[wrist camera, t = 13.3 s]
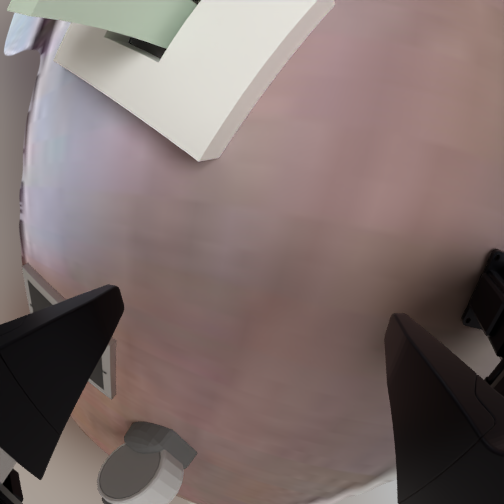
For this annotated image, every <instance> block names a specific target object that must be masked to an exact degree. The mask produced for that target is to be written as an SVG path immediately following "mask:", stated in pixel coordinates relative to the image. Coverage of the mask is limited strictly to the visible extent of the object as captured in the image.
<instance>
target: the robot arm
mask: <svg viewBox="0 0 504 504" xmlns="http://www.w3.org/2000/svg"><path fill="white" fill-rule="evenodd" d="M497 254H498V257H497V258H496V259H495V257H496V255H497ZM123 312H124V303H123V300H122V296H121V292H120V289H119V287H117V286H115V285H105V286H102V287H100V288H97V289H94V290H92V291H89V292H86V293H83V294H81V295H78V296H75V297H73V298H70V299H67V300H65V301H62V302H59V303H57V304H54V305H51V306H49V307H46V308H44V309H41V310H38V311H36V312H33V313H31V314H28V315H25V316H23V317H20V318H17V319H15V320H12V321H9V322H7V323H4V324H1V325H0V504H23V503H22V501H23V495H22V490H21V485H20V480H19V474H18V472H17V471H15V470H14V469H13V467H14V465H15V464H16V462H18V463H19V464H20V465H21V466H22V467H24V468H25V469H26V470H27V471H29V472H30V473H31V474H33V475H34V476H35V477H37V478H38V479H39V480H41V479H42V477H43V475H44V473H45V470H46V468H47V465H48V463H49V461H50V458H51V456H52V454H53V451H54V449H55V447H56V445H57V442H58V440H59V438H60V435H61V434H62V431H63V429H64V427H65V425H66V423H67V421H68V419H69V417H70V415H71V413H72V411H73V409H74V407H75V405H76V403H77V401H78V399H79V397H80V395H81V393H82V391H83V389H84V388H85V386H86V384H87V382H88V380H89V378H90V376H91V375H92V373H93V371H94V369H95V367H96V365H97V364H98V362H99V360H100V358H101V357H102V355H103V353H104V351H105V350H106V348H107V346H108V344H109V342H110V340H111V338H112V335H113V333H114V331H115V329H116V327H117V325H118V322H119V320H120V318H121V316H122V314H123ZM467 318H469V319H468V320H466V319H467ZM462 322H463V324H464V325H465V326H470V327H474V328H478V329H482V330H483V331H484V333H485V335H486V336H487V337H488V339H489V341H490V343H491V345H492V347H493V349H494V351H495V353H496V355H497V356H499V357H500V359H501V361H500V363H499V364H498V365H497V367H496V368H495V369H494V370H493V372H492V373H491V374H490V375H489V376H488V377H486V378H485V379H484V380H483V379H482V378H481V377H480V376H479V375H476V373H475V372H474V371H473V370H472V369H471V368H470V367H468V366H467V365H466V364H465V363H464V362H463V361H462V360H460V359H459V358H458V357H457V356H456V355H455V354H453V353H452V352H451V351H450V350H449V349H448V348H446V347H445V346H444V345H443V344H442V343H440V342H439V341H438V340H437V339H436V338H434V337H433V336H432V335H431V334H430V333H428V332H427V331H426V330H425V329H424V328H422V327H421V326H420V325H419V324H417V323H416V322H415V321H414V320H412V319H411V318H410V317H409V316H408V315H406V314H404V313H394V314H392V316H391V318H390V321H389V324H388V327H387V330H386V333H385V339H384V342H385V356H386V373H387V386H388V393H389V400H390V407H391V414H392V422H393V431H394V441H395V453H396V467H397V491H398V504H504V252H503V251H501V250H498V249H495V250H493V251H492V253H491V255H490V258H489V260H488V263H487V265H486V268H485V270H484V272H483V275H482V276H481V278H480V280H479V283H478V285H477V287H476V289H475V291H474V293H473V296H472V298H471V300H470V302H469V305H468V306H467V308H466V310H465V312H464V314H463V316H462Z"/></svg>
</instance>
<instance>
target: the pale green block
mask: <svg viewBox="0 0 504 504" xmlns="http://www.w3.org/2000/svg"><path fill="white" fill-rule="evenodd" d="M196 6H197V4H196V3H194V2H193V1H191V0H11V2H10V4H9V6H8V9H7V11H11V12H15V13H19V14H23V15H27V16H32V17H41V18H49V19H56V20H62V21H68V22H73V23H78V24H83V25H88V26H92V27H96V28H101V29H105V30H109V31H112V32H116V33H120V34H123V35H126V36H130V37H133V38H136V39H139V40H143V41H146V42H149V43H152V44H154V45H157V46H160V47H163V48H166V49H167V48H168V46H169V45H170V43H171V42H172V40H173V39H174V37H175V36H176V34H177V33H178V31H179V30H180V28H181V27H182V25H183V24H184V23H185V21H186V20H187V18H188V17H189V16H190V14H191V13H192V12H193V10H194V9H195V8H196Z"/></svg>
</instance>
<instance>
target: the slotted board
mask: <svg viewBox="0 0 504 504" xmlns="http://www.w3.org/2000/svg"><path fill="white" fill-rule="evenodd" d="M334 6H335V2H334V0H201V1H200V2H199V4H198V5H197V6H196V8H195V9H194V10H193V12H192V13H191V14H190V16H189V17H188V18H187V20H186V21H185V23H184V24H183V25H182V27H181V28H180V30H179V31H178V33H177V34H176V36H175V37H174V39H173V40H172V42H171V43H170V45H169V46H168V48H167V49H166V51H165V53H164V54H163V56H162V58H159V57H157V56H155V55H152V54H150V53H148V52H146V51H144V50H142V49H140V48H138V47H136V46H133V45H131V44H129V43H128V42H129V40H130V38H131V37H130V36H126V35H123V34H120V33H116V32H112V31H109V30H105V29H101V28H96V27H92V26H88V25H83V24H78V23H73V22H71V24H70V26H69V28H68V30H67V32H66V34H65V36H64V38H63V40H62V42H61V44H60V47H59V49H58V51H57V53H56V56H55V58H54V60H53V61H55V62H56V63H58V64H59V65H61V66H62V67H64V68H66V69H67V70H69V71H70V72H72V73H73V74H75V75H76V76H78V77H79V78H81V79H83V80H84V81H86V82H87V83H89V84H90V85H92V86H93V87H95V88H96V89H98V90H99V91H101V92H102V93H103V94H105V95H106V96H108V97H109V98H111V99H112V100H114V101H115V102H117V103H118V104H120V105H121V106H122V107H124V108H125V109H127V110H128V111H130V112H131V113H132V114H134V115H135V116H137V117H138V118H140V119H141V120H142V121H144V122H145V123H147V124H148V125H149V126H151V127H152V128H154V129H155V130H156V131H158V132H159V133H160V134H162V135H163V136H165V137H166V138H167V139H169V140H170V141H171V142H173V143H174V144H175V145H177V146H178V147H180V148H181V149H182V150H184V151H185V152H186V153H188V154H189V155H190V156H192V157H193V158H194V159H196V160H197V161H198V162H200V161H205V160H211V159H216V158H219V157H220V156H221V154H222V153H223V151H224V150H225V148H226V147H227V145H228V144H229V142H230V140H231V139H232V138H233V136H234V135H235V133H236V132H237V130H238V129H239V127H240V126H241V124H242V123H243V121H244V120H245V118H246V117H247V116H248V114H249V113H250V111H251V110H252V108H253V107H254V106H255V104H256V103H257V101H258V100H259V99H260V97H261V96H262V95H263V93H264V92H265V90H266V89H267V88H268V86H269V85H270V84H271V82H272V81H273V80H274V78H275V77H276V76H277V74H278V73H279V72H280V71H281V69H282V68H283V67H284V65H285V64H286V63H287V62H288V60H289V59H290V58H291V56H292V55H293V54H294V53H295V51H296V50H297V49H298V48H299V46H300V45H301V44H302V43H303V42H304V40H305V39H306V38H307V37H308V36H309V34H310V33H311V32H312V31H313V30H314V28H315V27H316V26H317V25H318V24H319V23H320V22H321V20H322V19H323V18H324V17H325V16H326V15H327V14H328V12H329V11H330V10H331V9H332V8H333V7H334Z"/></svg>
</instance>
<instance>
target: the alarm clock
mask: <svg viewBox="0 0 504 504" xmlns="http://www.w3.org/2000/svg"><path fill="white" fill-rule="evenodd" d="M124 441H125V443H124V444H122V445H121V446H119V447H118V448H117V449H116V450H114V451H113V452H112V453H111V454H110V456H109V457H108V458H107V459H106V461H105V462H104V464H103V465H102V467H101V469H100V471H99V474H98V479H97V485H98V491H99V493H100V495H101V496H102V501H103V503H104V504H168V503H170V502H171V500H172V499H173V498H174V497H175V495H176V494H177V493H178V491H179V488H180V486H181V484H182V480H183V474H184V470H183V469H185V468H187V467H188V465H189V464H190V463H191V461H192V460H193V459H194V457H195V456H196V455H197V452H196V451H195V450H194V449H193V448H192V447H191V446H189V445H188V444H187V443H186V442H185V441H184V440H183V439H182V438H181V437H180V436H179V435H178V434H177V433H176V432H174V431H173V430H171V429H169V428H166V427H163V426H160V425H157V424H153V423H148V422H135V423H133V424H132V425H131V427H130V428H129V430H128V432H127V433H126V435H125V436H124Z"/></svg>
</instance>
